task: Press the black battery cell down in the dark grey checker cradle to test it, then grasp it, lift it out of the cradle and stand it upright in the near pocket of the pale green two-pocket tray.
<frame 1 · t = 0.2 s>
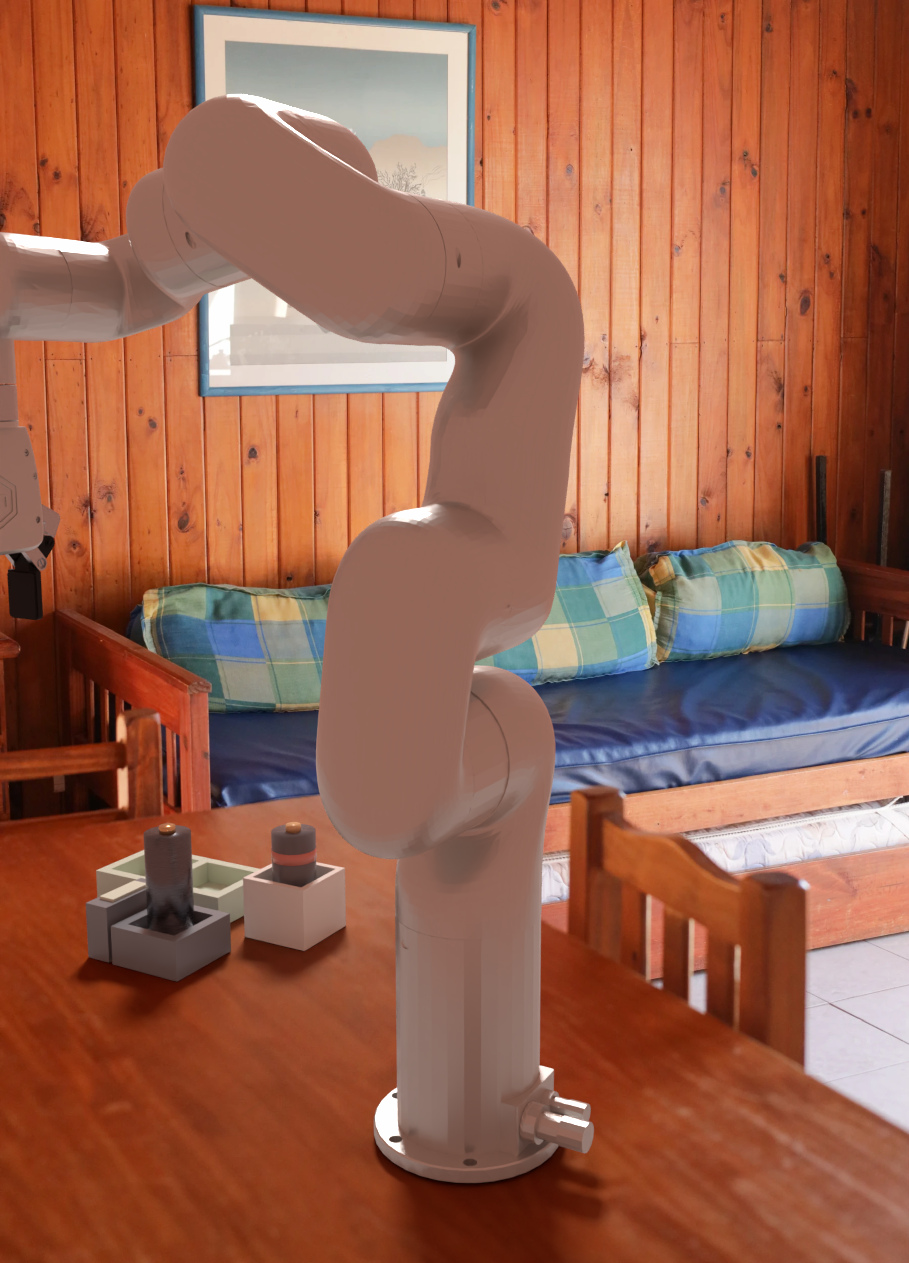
cell: (171, 931, 118), point 2 cm above the table, touching pad
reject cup: (295, 931, 124), on the table
tray: (184, 900, 131), on the table
pad: (171, 939, 118), point 2 cm above the table, slide at -0.1 cm, touching cell
cradle: (172, 957, 118), on the table
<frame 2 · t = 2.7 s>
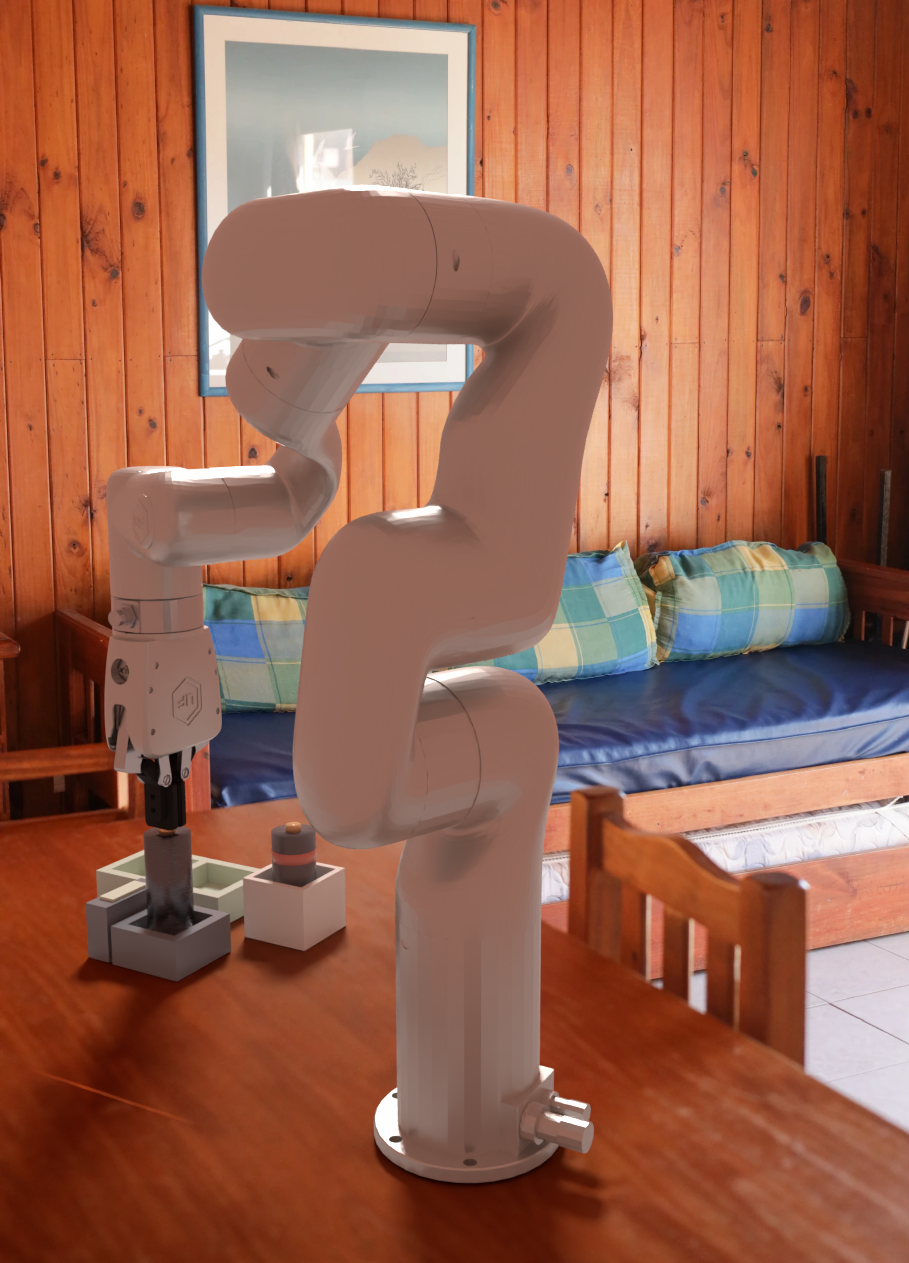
hand: (166, 825, 116), 12 cm above the table, fingers closed
cell: (171, 931, 118), point 2 cm above the table, touching gripper, pad
everything else where it was.
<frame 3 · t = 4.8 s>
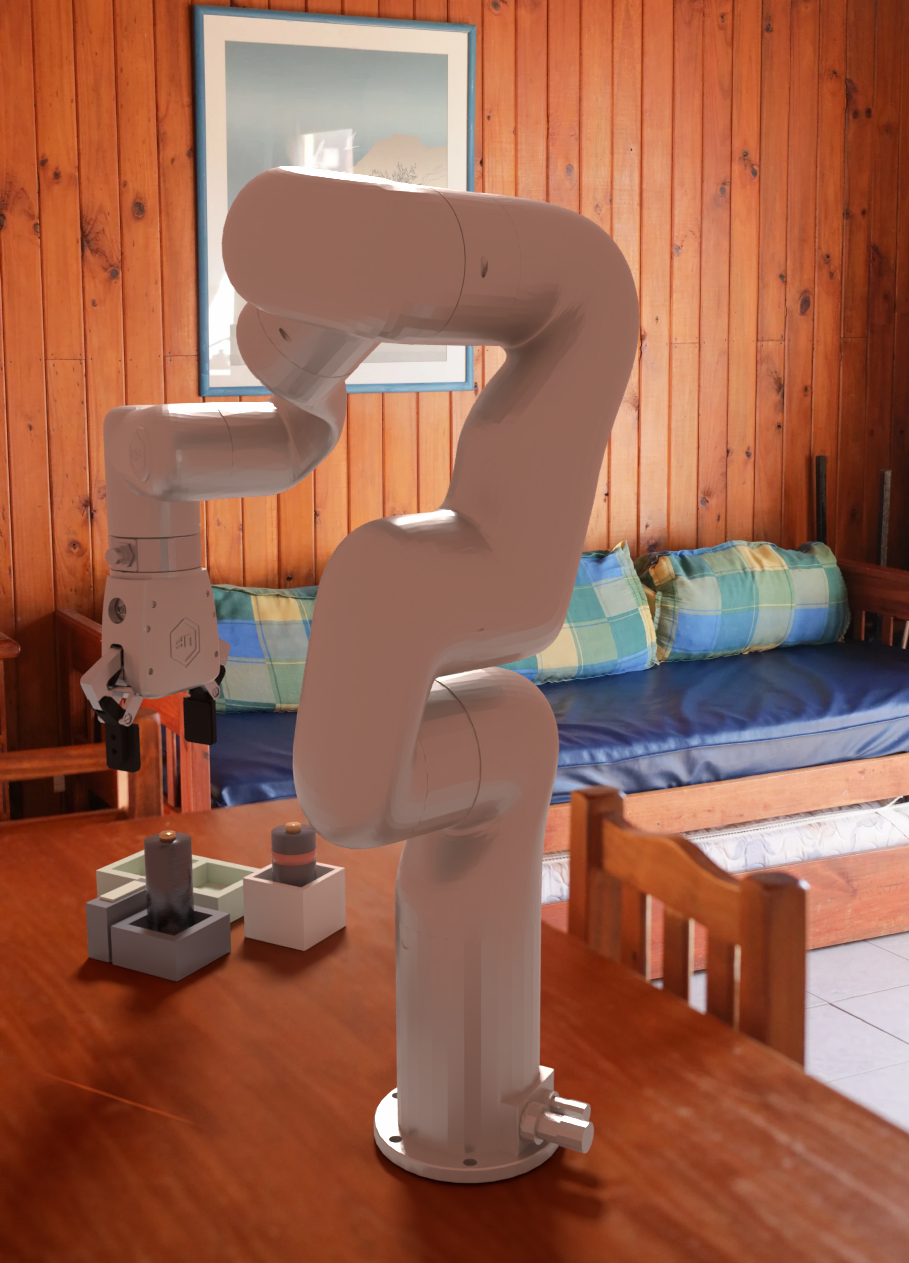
hand: (163, 755, 115), 18 cm above the table, fingers open, 9 cm apart
cell: (171, 938, 118), point 2 cm above the table, touching pad
pad: (172, 946, 118), point 1 cm above the table, slide at -0.7 cm, touching cell
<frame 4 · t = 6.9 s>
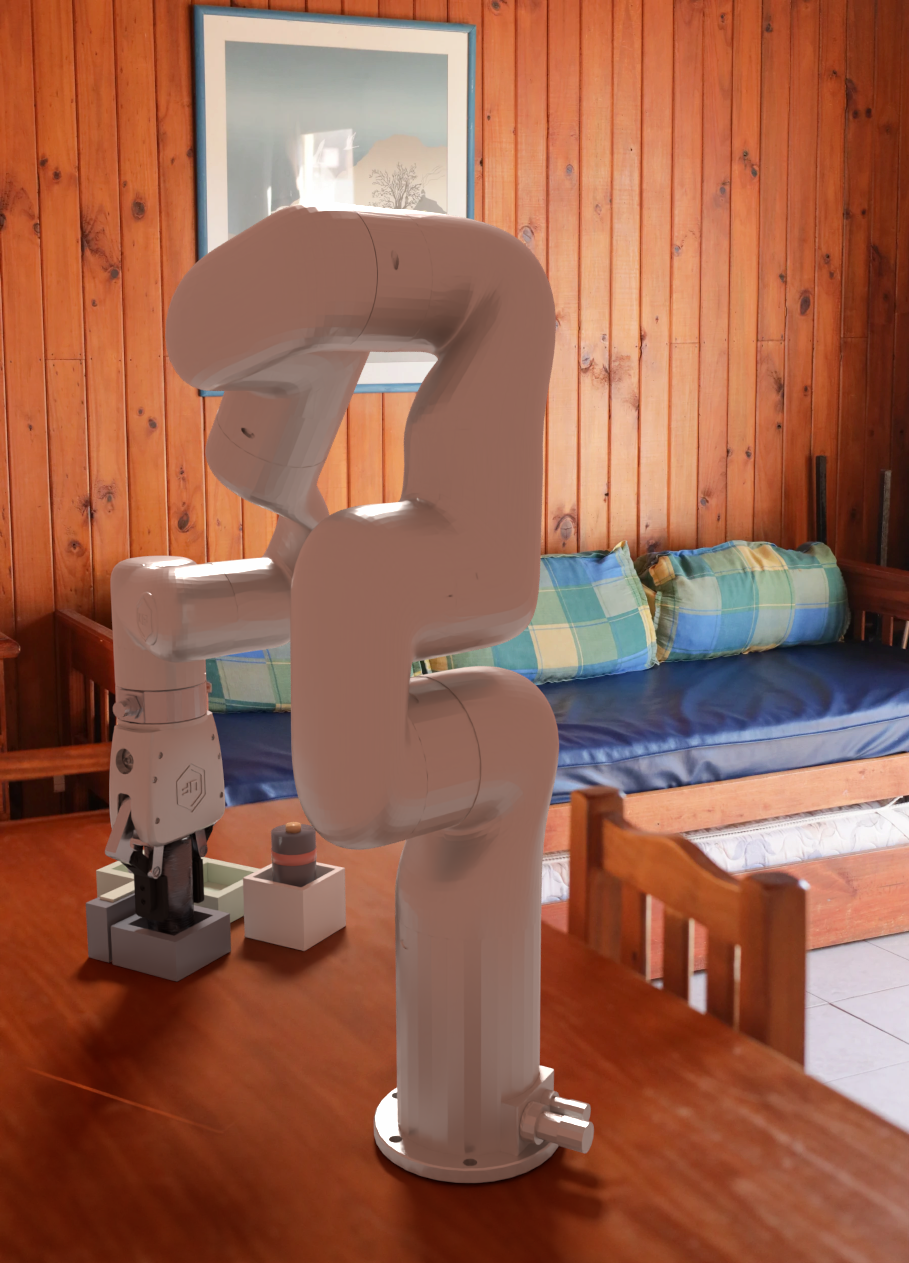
hand: (170, 906, 117), 5 cm above the table, fingers closed on cell, 4 cm apart
cell: (171, 938, 118), point 2 cm above the table, touching gripper, pad
everything else where it was.
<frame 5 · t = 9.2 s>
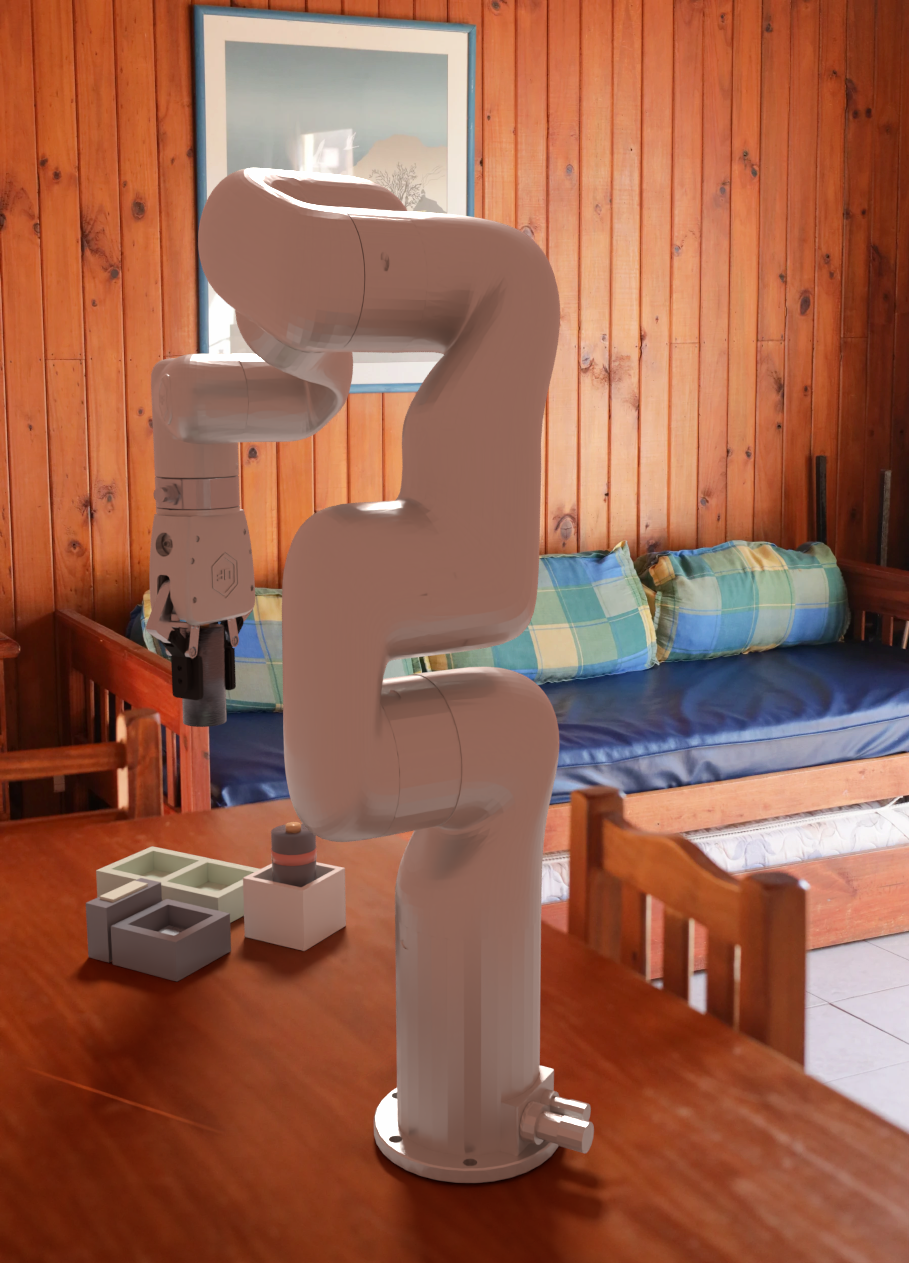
hand: (204, 691, 126), 21 cm above the table, fingers closed on cell, 4 cm apart
cell: (204, 721, 127), point 18 cm above the table, touching gripper
pad: (172, 946, 118), point 1 cm above the table, slide at -0.7 cm
when the fingers open (5 cm above the table, at t = 12.0 s): cell stays where it is, resting on tray.
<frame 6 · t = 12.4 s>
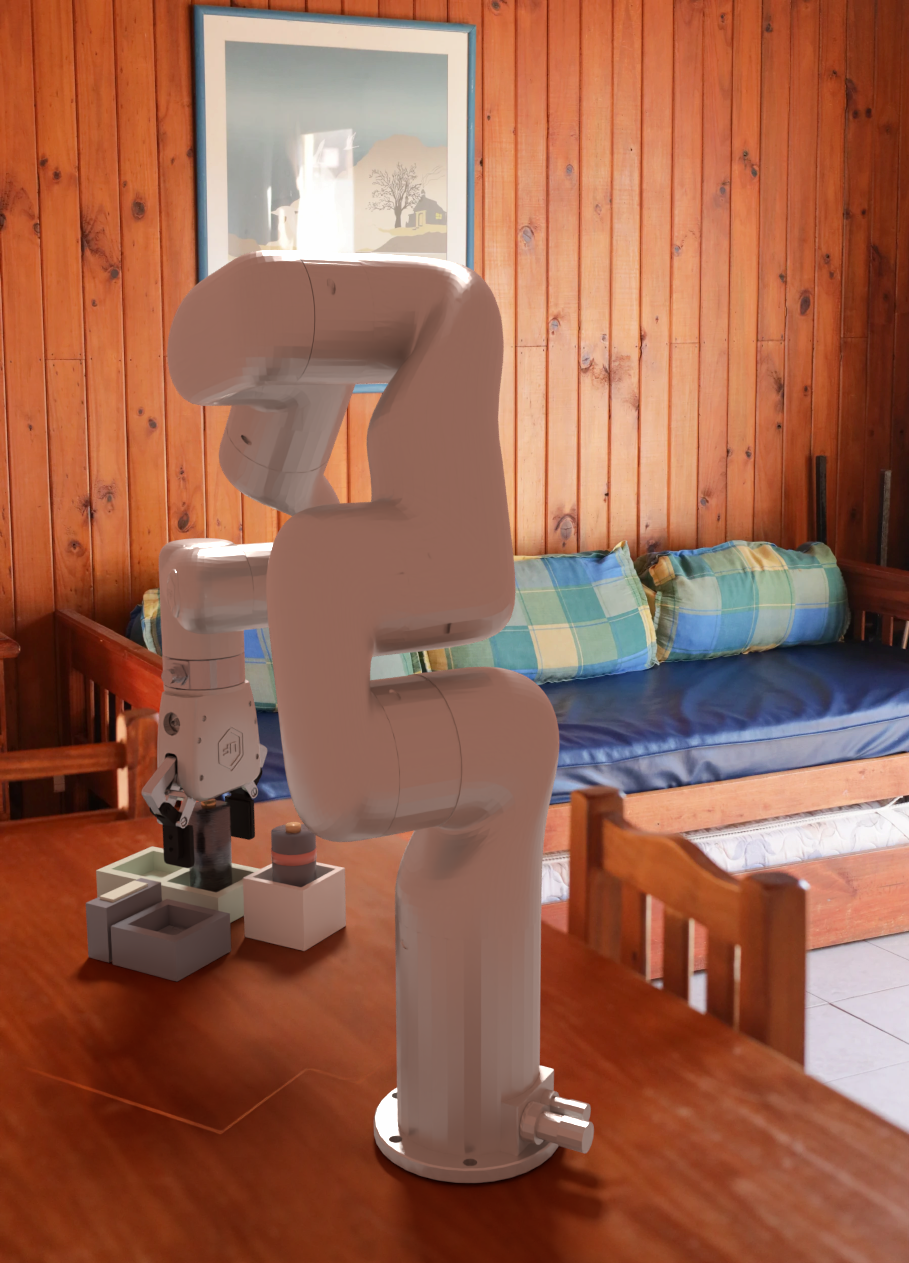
hand: (210, 850, 129), 6 cm above the table, fingers open, 8 cm apart
cell: (211, 896, 130), point 1 cm above the table, touching tray
everything else where it was.
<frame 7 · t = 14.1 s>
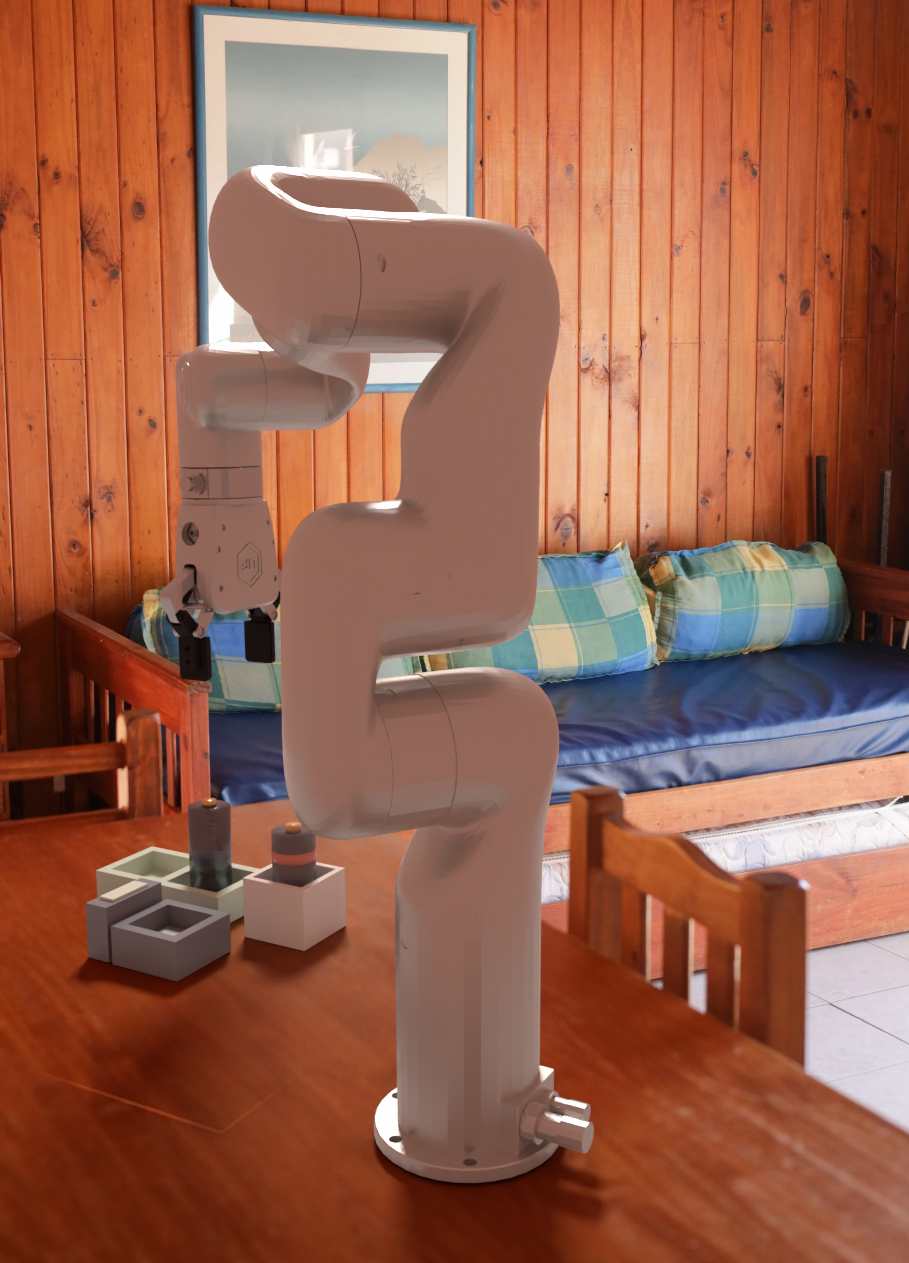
hand: (229, 670, 127), 23 cm above the table, fingers open, 9 cm apart
nothing on the table moved.
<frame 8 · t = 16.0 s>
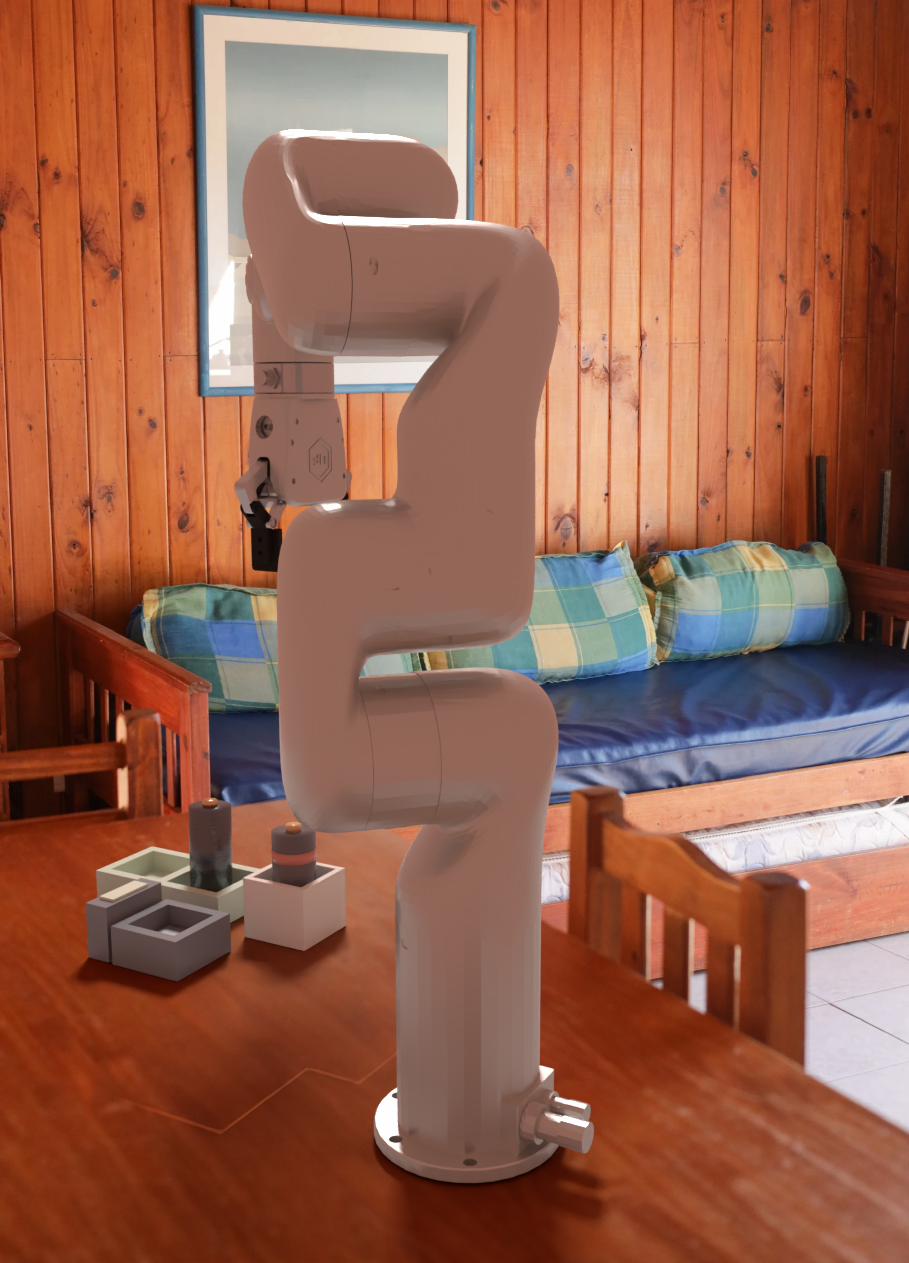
hand: (298, 564, 130), 32 cm above the table, fingers open, 9 cm apart
nothing on the table moved.
at the end: cell 0.1 cm from the target spot on the tray, point 1.0 cm above the tray's base; cell tilted 1°; the gripper is holding nothing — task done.
